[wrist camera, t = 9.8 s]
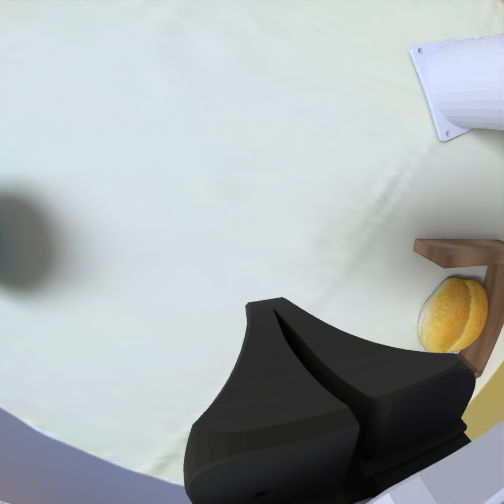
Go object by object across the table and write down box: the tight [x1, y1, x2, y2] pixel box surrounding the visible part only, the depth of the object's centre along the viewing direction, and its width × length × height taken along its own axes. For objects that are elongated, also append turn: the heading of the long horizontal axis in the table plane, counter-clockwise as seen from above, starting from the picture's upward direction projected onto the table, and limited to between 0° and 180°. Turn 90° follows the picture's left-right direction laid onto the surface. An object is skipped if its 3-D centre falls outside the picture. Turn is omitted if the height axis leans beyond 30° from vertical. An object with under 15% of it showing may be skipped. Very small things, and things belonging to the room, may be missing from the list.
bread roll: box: [417, 278, 488, 353], centre depth 26 cm, size 8×9×4 cm
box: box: [414, 239, 504, 378], centre depth 25 cm, size 13×15×4 cm
